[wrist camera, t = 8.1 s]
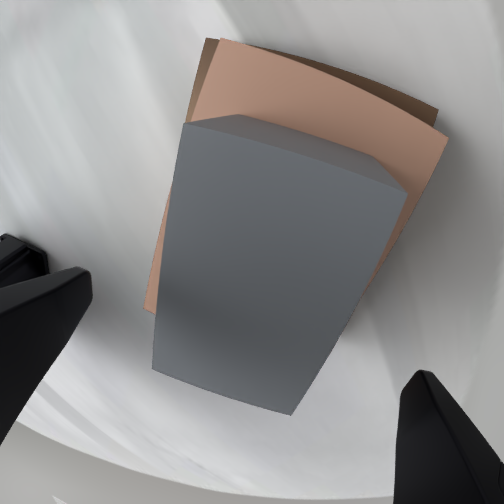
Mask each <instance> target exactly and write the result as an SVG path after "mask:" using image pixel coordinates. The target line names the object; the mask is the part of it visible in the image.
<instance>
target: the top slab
mask: <svg viewBox="0 0 504 504" xmlns="http://www.w3.org/2000/svg"><path fill="white" fill-rule="evenodd" d="M235 114H240V115H244V116H248V117H252V118H256V119H259V120H263V121H267V122H270V123H274V124H278V125H281V126H284V127H288V128H291V129H295V130H298V131H301V132H304V133H308V134H311V135H314V136H317V137H320V138H323V139H326V140H329V141H332V142H335V143H338V144H341V145H343V146H346V147H349V148H352V149H355V150H357V151H360V152H363V153H365V154H368V155H371V156H373V157H374V158H375V159H376V160H377V161H378V162H379V163H380V164H381V165H382V166H383V167H384V168H385V170H386V171H387V172H388V173H389V174H390V175H391V176H392V177H393V178H394V179H395V180H396V181H397V182H398V183H399V184H400V185H401V186H402V188H403V189H404V190H405V191H406V192H407V193H408V195H407V198H406V200H405V203H404V205H403V208H402V210H401V212H400V215H399V217H398V219H397V222H396V224H395V226H394V229H393V231H392V233H391V235H390V238H389V240H388V242H387V244H386V246H385V249H384V251H383V253H382V255H381V257H380V259H379V261H378V264H377V266H376V268H375V270H374V272H373V274H372V276H371V278H370V280H369V282H368V284H367V286H366V288H365V290H364V292H365V291H366V289H367V288H368V286H369V285H370V283H371V281H372V280H373V278H374V277H375V275H376V273H377V272H378V270H379V269H380V267H381V265H382V264H383V262H384V260H385V259H386V257H387V255H388V254H389V252H390V250H391V249H392V247H393V245H394V244H395V242H396V240H397V239H398V237H399V235H400V233H401V232H402V230H403V228H404V226H405V224H406V223H407V221H408V219H409V217H410V215H411V214H412V212H413V210H414V208H415V206H416V204H417V202H418V201H419V199H420V197H421V195H422V193H423V191H424V189H425V187H426V185H427V183H428V181H429V179H430V177H431V175H432V173H433V171H434V169H435V167H436V165H437V163H438V161H439V159H440V157H441V155H442V152H443V150H444V148H445V146H446V144H447V142H448V139H449V138H448V137H447V136H445V135H443V134H442V133H440V132H439V131H437V130H436V129H434V128H432V127H431V126H429V125H427V124H426V123H424V122H422V121H421V120H419V119H417V118H416V117H414V116H412V115H410V114H409V113H407V112H405V111H403V110H401V109H400V108H398V107H396V106H394V105H392V104H390V103H388V102H387V101H385V100H383V99H381V98H379V97H377V96H375V95H373V94H371V93H369V92H367V91H365V90H363V89H360V88H358V87H356V86H354V85H352V84H350V83H348V82H345V81H343V80H341V79H339V78H336V77H334V76H332V75H329V74H327V73H325V72H322V71H320V70H317V69H315V68H312V67H310V66H307V65H304V64H302V63H299V62H296V61H294V60H291V59H288V58H285V57H283V56H280V55H277V54H274V53H271V52H268V51H265V50H262V49H258V48H255V47H252V46H249V45H245V44H242V43H238V42H235V41H231V40H227V39H224V38H220V41H219V43H218V46H217V48H216V51H215V54H214V56H213V59H212V62H211V64H210V67H209V70H208V72H207V75H206V78H205V81H204V83H203V86H202V89H201V92H200V95H199V98H198V101H197V104H196V107H195V110H194V113H193V116H192V119H191V122H193V121H198V120H204V119H210V118H216V117H222V116H228V115H235ZM171 188H172V186H171ZM170 194H171V189H170V193H169V197H168V200H167V204H166V208H165V212H164V216H163V220H162V224H161V228H160V232H159V236H158V241H157V245H156V249H155V254H154V258H153V263H152V267H151V272H150V277H149V282H148V287H147V292H146V297H145V302H144V307H143V309H145V310H147V311H149V312H151V313H153V314H155V315H156V305H157V295H158V285H159V275H160V267H161V258H162V250H163V242H164V235H165V227H166V220H167V214H168V207H169V200H170ZM364 292H363V294H364ZM363 294H362V295H363ZM361 297H362V296H361Z"/></svg>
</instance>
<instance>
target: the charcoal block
mask: <svg viewBox="0 0 504 504" xmlns="http://www.w3.org/2000/svg"><path fill="white" fill-rule="evenodd" d="M407 195H408V193H407V192H406V191H405V190H404V189H403V188H402V186H401V185H400V184H399V183H398V182H397V181H396V180H395V179H394V178H393V177H392V176H391V175H390V174H389V173H388V172H387V171H386V170H385V168H384V167H383V166H382V165H381V164H380V163H379V162H378V161H377V160H376V159H375V158H374V157H373V156H371V155H368V154H365V153H363V152H360V151H357V150H355V149H352V148H349V147H346V146H343V145H341V144H338V143H335V142H332V141H329V140H326V139H323V138H320V137H317V136H314V135H311V134H308V133H304V132H301V131H298V130H295V129H291V128H288V127H284V126H281V125H278V124H274V123H270V122H267V121H263V120H259V119H256V118H252V117H248V116H244V115H240V114H235V115H228V116H222V117H216V118H210V119H204V120H198V121H193V122H187V123H184V124H183V129H182V134H181V139H180V144H179V149H178V154H177V159H176V165H175V171H174V176H173V182H172V188H171V194H170V200H169V207H168V214H167V220H166V227H165V235H164V242H163V250H162V258H161V267H160V275H159V285H158V295H157V305H156V317H155V329H154V344H153V360H152V369H153V370H155V371H158V372H160V373H163V374H165V375H168V376H170V377H173V378H175V379H178V380H180V381H183V382H186V383H188V384H191V385H194V386H196V387H199V388H202V389H205V390H208V391H211V392H213V393H216V394H219V395H222V396H225V397H228V398H231V399H235V400H238V401H241V402H244V403H247V404H251V405H254V406H257V407H261V408H264V409H268V410H271V411H275V412H279V413H282V414H286V415H290V416H291V415H292V413H293V412H294V410H295V409H296V407H297V406H298V404H299V403H300V401H301V400H302V398H303V397H304V395H305V393H306V392H307V390H308V389H309V387H310V386H311V384H312V382H313V381H314V379H315V377H316V376H317V374H318V373H319V371H320V369H321V368H322V366H323V364H324V363H325V361H326V359H327V358H328V356H329V354H330V352H331V351H332V349H333V347H334V345H335V344H336V342H337V340H338V338H339V337H340V335H341V333H342V331H343V330H344V328H345V326H346V324H347V322H348V320H349V319H350V317H351V315H352V313H353V311H354V309H355V307H356V305H357V304H358V302H359V300H360V298H361V296H362V294H363V292H364V290H365V288H366V286H367V284H368V282H369V280H370V278H371V276H372V274H373V272H374V270H375V268H376V266H377V264H378V261H379V259H380V257H381V255H382V253H383V251H384V249H385V246H386V244H387V242H388V240H389V238H390V235H391V233H392V231H393V229H394V226H395V224H396V222H397V219H398V217H399V215H400V212H401V210H402V208H403V205H404V203H405V200H406V198H407Z"/></svg>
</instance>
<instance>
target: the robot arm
mask: <svg viewBox="0 0 504 504" xmlns="http://www.w3.org/2000/svg"><path fill="white" fill-rule="evenodd" d="M0 241H1V242H0V445H1V444H2V442H3V440H4V439H5V437H6V435H7V433H8V432H9V430H10V428H11V427H12V425H13V423H14V422H15V420H16V419H17V417H18V415H19V414H20V412H21V411H22V409H23V408H24V406H25V404H26V403H27V401H28V400H29V398H30V397H31V395H32V394H33V392H34V391H35V389H36V388H37V386H38V385H39V383H40V382H41V380H42V379H43V377H44V376H45V374H46V373H47V371H48V370H49V368H50V367H51V366H52V364H53V363H54V361H55V360H56V358H57V357H58V356H59V354H60V353H61V351H62V350H63V348H64V347H65V346H66V344H67V342H68V341H69V339H70V337H71V336H72V334H73V332H74V331H75V329H76V327H77V325H78V324H79V322H80V320H81V319H82V317H83V315H84V314H85V312H86V310H87V309H88V307H89V305H90V303H91V301H92V296H93V294H92V281H91V274H90V272H89V271H88V270H86V269H83V268H81V267H73V268H70V269H66V270H62V271H59V272H55V273H52V274H49V272H48V264H47V257H46V254H45V252H44V251H42V250H40V249H38V248H36V247H33V246H31V245H29V244H26V243H24V242H22V241H20V240H18V239H15V238H13V237H11V236H9V235H7V234H3V235H1V236H0ZM393 504H504V464H503V462H500V458H499V457H498V455H497V454H496V453H495V451H494V450H493V449H492V447H491V446H490V445H489V443H488V442H487V441H486V439H485V438H484V437H483V435H482V434H481V433H480V431H479V430H478V429H477V428H476V426H475V425H474V424H473V422H472V421H471V420H470V418H469V417H468V416H467V415H466V414H465V412H464V411H463V410H462V408H461V407H460V406H459V405H458V403H457V402H456V401H455V400H454V398H453V397H452V396H451V395H450V393H449V392H448V391H447V390H446V388H445V387H444V386H443V385H442V383H441V382H440V381H439V380H438V379H437V377H436V376H435V375H434V374H433V373H432V372H430V371H425V370H418V371H417V372H416V373H415V374H414V375H413V376H412V378H411V379H410V380H409V382H408V383H407V384H406V386H405V387H404V388H403V390H402V392H401V396H400V407H399V418H398V428H397V438H396V458H395V484H394V501H393Z"/></svg>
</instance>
